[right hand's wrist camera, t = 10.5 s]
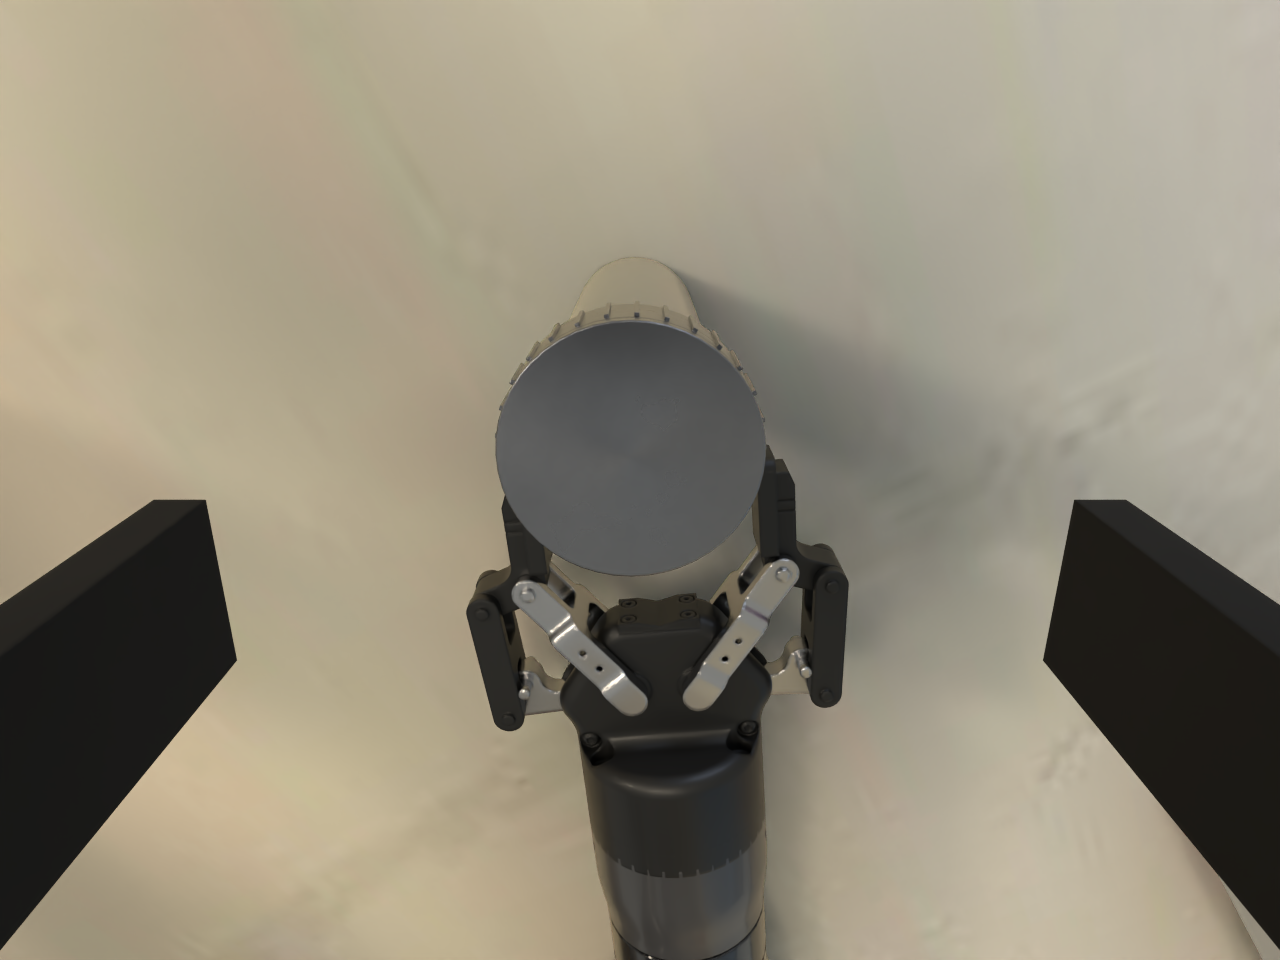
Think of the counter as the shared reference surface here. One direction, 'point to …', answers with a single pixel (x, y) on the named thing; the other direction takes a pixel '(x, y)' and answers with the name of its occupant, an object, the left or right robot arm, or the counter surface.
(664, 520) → the lid
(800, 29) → the counter surface
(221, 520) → the counter surface
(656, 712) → the left robot arm
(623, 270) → the jar
